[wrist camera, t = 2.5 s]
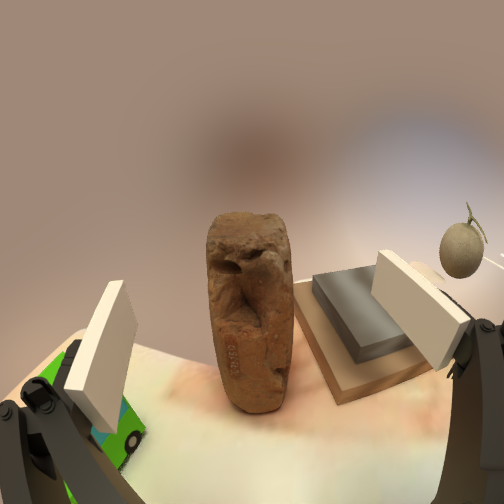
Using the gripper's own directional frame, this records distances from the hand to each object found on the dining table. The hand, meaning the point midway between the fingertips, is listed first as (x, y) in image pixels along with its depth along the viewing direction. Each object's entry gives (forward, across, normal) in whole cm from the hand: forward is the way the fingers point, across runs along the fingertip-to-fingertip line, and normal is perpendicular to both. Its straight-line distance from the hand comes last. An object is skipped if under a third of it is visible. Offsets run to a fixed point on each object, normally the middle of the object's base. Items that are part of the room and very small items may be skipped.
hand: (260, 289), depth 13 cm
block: (+10, +1, -20) cm, 23 cm away
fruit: (+22, +47, -20) cm, 56 cm away
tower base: (+15, +20, -20) cm, 32 cm away
